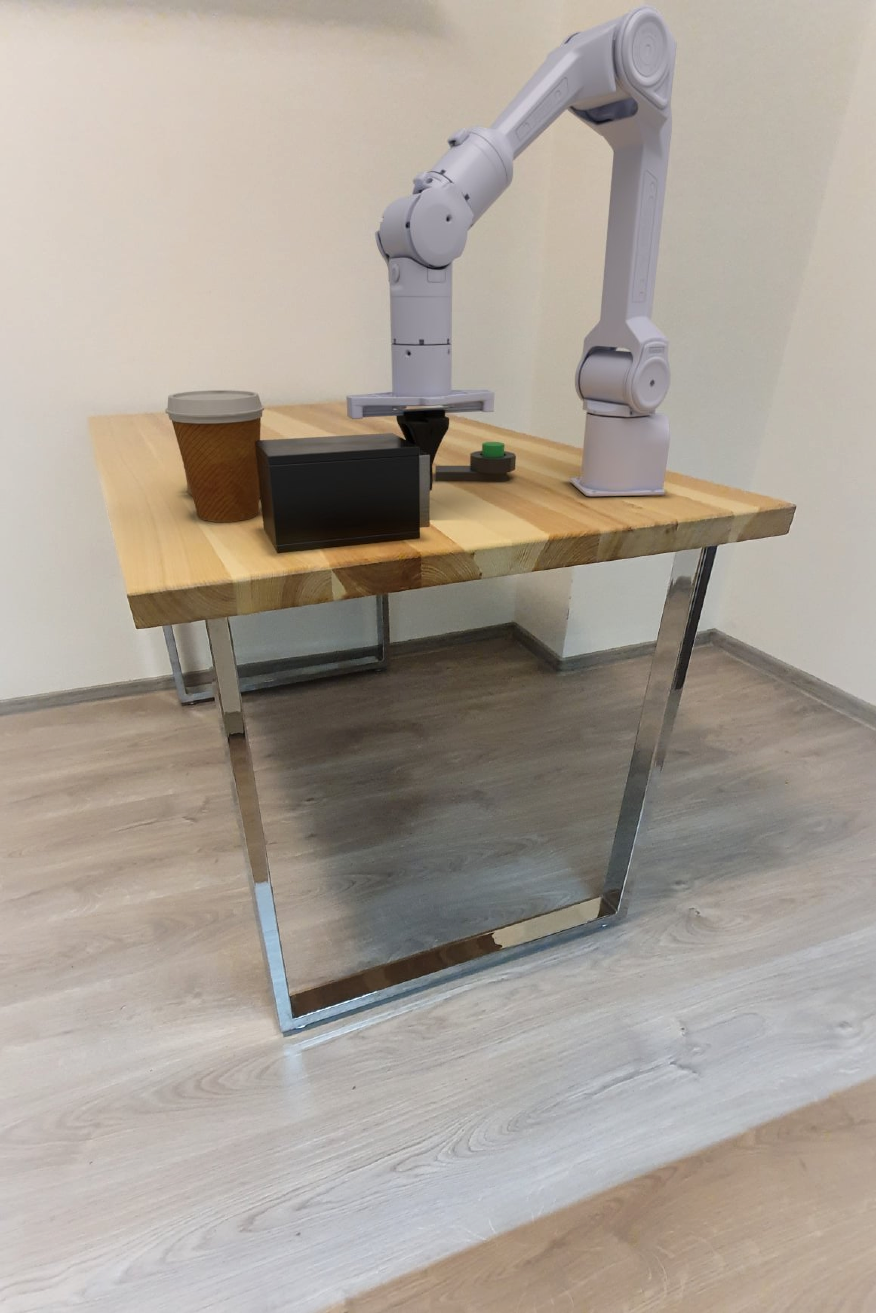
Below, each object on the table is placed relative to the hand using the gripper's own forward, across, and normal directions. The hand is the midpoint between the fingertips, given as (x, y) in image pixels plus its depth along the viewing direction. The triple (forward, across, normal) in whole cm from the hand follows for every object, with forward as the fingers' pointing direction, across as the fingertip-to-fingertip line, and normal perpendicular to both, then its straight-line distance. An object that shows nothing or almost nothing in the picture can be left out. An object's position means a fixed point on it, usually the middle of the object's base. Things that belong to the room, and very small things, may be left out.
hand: (422, 488), depth 74 cm
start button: (+1, +15, +16) cm, 22 cm away
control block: (+3, +12, +17) cm, 21 cm away
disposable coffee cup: (+3, -19, +9) cm, 21 cm away
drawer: (+2, -7, -2) cm, 8 cm away
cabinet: (+3, -9, -2) cm, 10 cm away
